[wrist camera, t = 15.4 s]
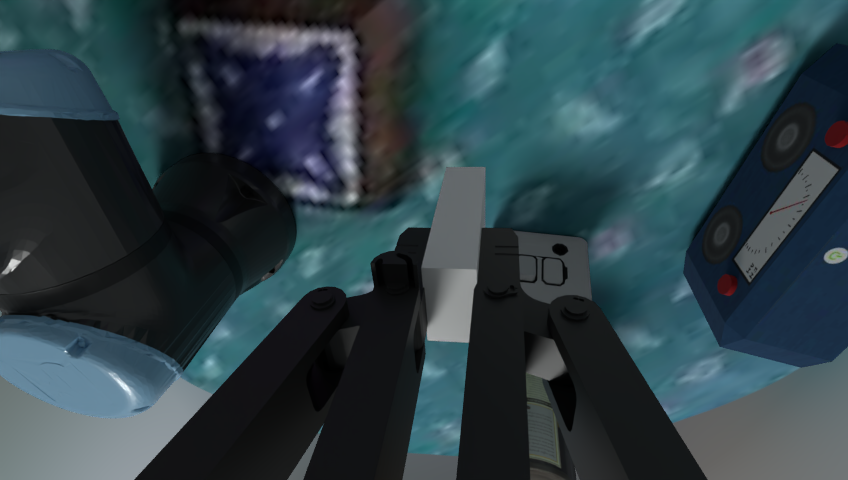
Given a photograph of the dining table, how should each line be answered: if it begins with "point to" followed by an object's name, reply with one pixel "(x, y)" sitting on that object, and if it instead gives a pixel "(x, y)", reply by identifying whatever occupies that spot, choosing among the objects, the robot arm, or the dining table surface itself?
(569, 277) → the electrical switch
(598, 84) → the dining table surface
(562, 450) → the coffee can
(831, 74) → the radio
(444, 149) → the dining table surface
